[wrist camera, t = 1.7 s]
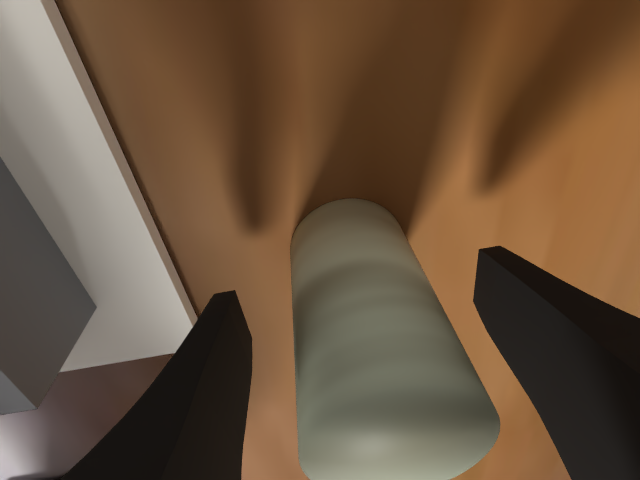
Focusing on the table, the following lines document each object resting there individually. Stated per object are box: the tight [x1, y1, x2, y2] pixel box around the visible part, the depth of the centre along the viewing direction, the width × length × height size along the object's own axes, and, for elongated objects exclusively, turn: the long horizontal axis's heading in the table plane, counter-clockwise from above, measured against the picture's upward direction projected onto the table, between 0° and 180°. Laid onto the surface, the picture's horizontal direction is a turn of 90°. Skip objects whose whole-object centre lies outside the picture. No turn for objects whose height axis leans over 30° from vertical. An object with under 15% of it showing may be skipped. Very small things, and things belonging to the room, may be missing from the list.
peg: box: [290, 198, 500, 480], centre depth 10 cm, size 4×4×7 cm
